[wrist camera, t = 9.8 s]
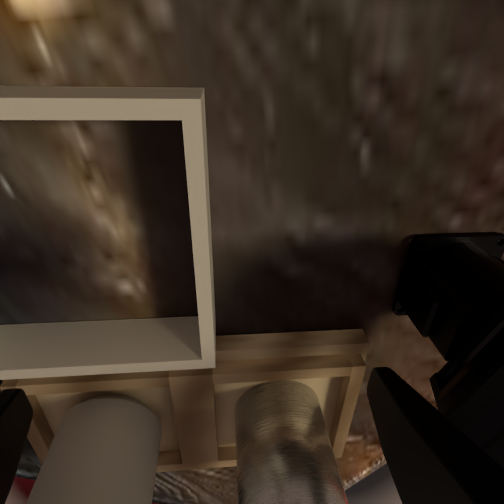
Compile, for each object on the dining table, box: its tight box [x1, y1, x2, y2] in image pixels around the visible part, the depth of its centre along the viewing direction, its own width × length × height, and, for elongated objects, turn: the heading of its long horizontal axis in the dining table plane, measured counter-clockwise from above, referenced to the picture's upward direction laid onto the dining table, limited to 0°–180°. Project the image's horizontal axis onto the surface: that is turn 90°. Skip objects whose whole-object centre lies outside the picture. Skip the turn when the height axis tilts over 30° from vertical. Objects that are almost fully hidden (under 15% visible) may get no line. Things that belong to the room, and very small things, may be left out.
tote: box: [0, 86, 216, 380], centre depth 19 cm, size 16×16×4 cm
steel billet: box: [234, 380, 348, 504], centre depth 23 cm, size 7×7×12 cm
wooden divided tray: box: [0, 329, 370, 472], centre depth 28 cm, size 26×14×3 cm, turn 89°
